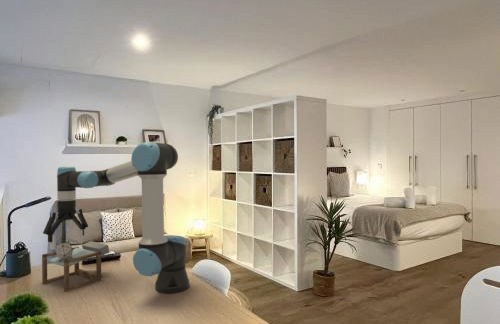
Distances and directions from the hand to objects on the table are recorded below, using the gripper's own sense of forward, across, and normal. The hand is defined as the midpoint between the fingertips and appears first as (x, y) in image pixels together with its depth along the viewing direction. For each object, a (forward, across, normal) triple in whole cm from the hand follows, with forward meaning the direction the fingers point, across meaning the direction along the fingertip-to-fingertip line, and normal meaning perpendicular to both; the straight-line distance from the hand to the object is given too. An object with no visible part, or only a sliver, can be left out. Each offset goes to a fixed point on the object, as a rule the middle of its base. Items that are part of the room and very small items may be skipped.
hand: (66, 246), depth 155 cm
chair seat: (+8, -7, 0) cm, 11 cm away
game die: (+6, 0, 0) cm, 6 cm away
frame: (+18, -2, 0) cm, 18 cm away
